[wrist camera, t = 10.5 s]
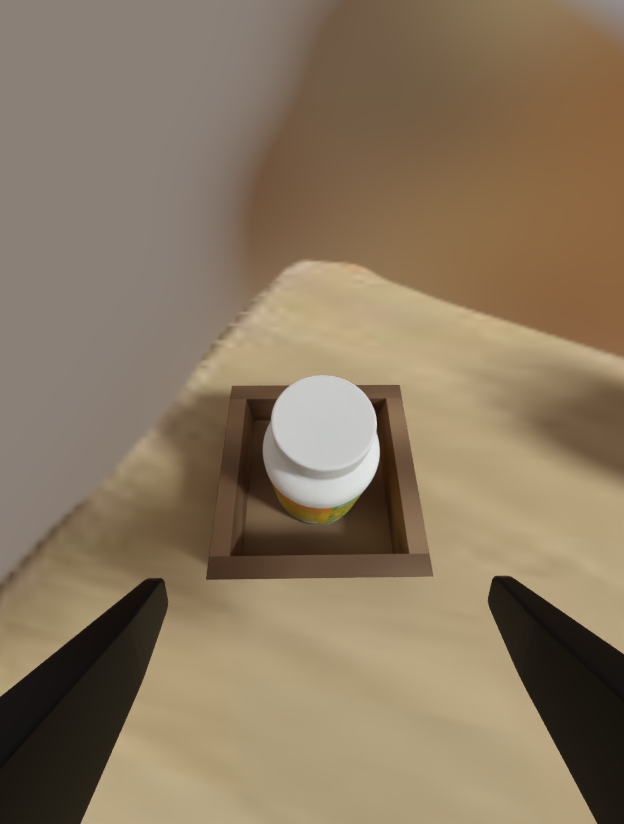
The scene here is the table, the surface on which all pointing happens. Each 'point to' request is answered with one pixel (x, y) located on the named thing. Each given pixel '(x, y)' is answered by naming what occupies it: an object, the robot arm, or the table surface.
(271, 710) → the table surface
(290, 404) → the supplement bottle
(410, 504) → the crate
